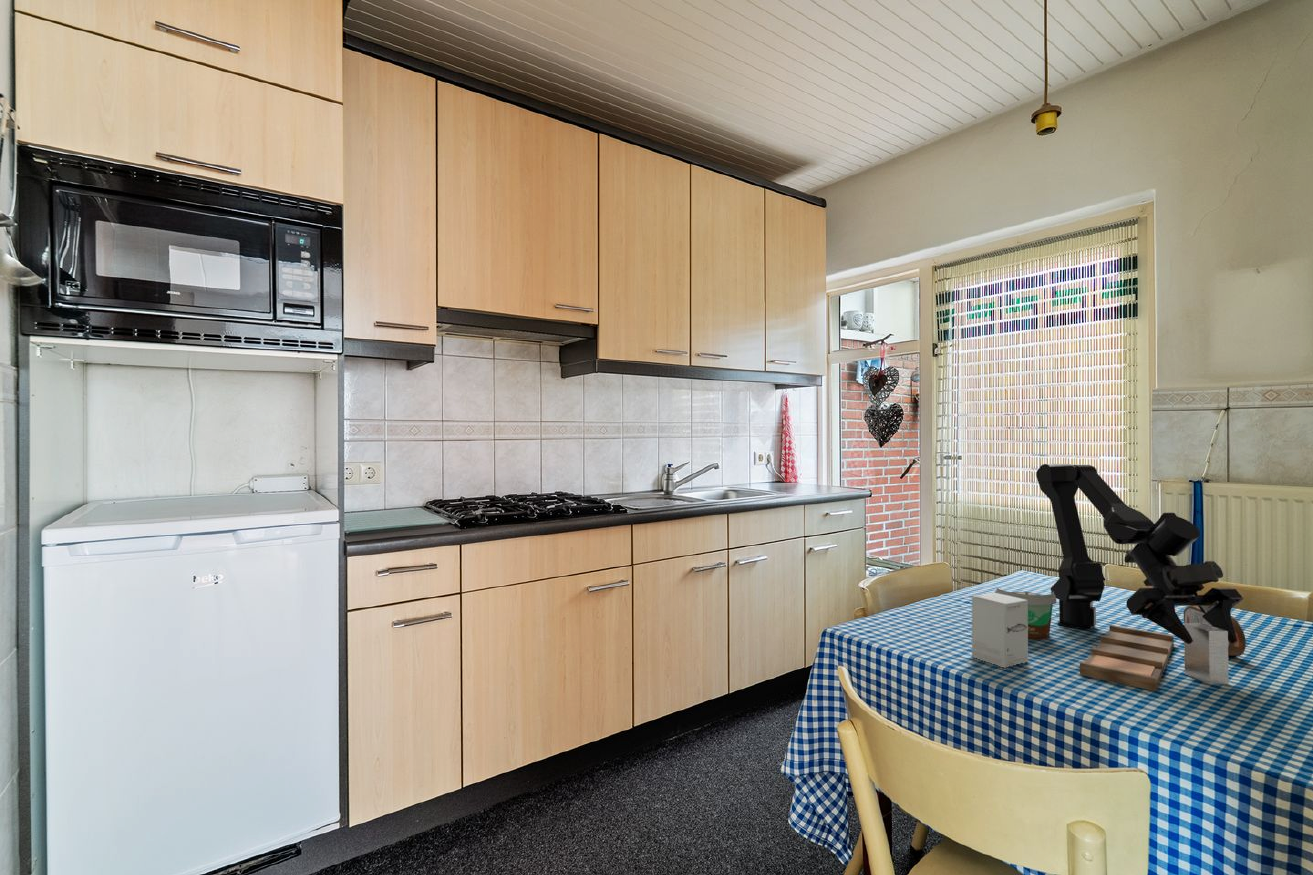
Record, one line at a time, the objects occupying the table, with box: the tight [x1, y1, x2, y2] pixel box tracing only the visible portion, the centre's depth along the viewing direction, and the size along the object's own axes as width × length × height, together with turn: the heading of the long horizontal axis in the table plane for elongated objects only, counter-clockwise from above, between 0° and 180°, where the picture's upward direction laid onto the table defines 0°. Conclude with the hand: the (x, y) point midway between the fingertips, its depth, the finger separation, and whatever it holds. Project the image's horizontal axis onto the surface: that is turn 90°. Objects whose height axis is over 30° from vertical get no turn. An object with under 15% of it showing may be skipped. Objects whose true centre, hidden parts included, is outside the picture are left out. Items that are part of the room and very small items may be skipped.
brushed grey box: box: [1183, 622, 1230, 685], centre depth 111 cm, size 5×4×10 cm
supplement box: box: [971, 592, 1029, 669], centre depth 121 cm, size 7×7×13 cm
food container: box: [994, 587, 1057, 641], centre depth 136 cm, size 12×6×10 cm, turn 68°
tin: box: [1183, 606, 1247, 657], centre depth 128 cm, size 15×3×8 cm, turn 168°
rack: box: [1079, 624, 1175, 692], centre depth 121 cm, size 11×34×2 cm, turn 135°
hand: (1212, 642), depth 110 cm, fingers open, 8 cm apart
